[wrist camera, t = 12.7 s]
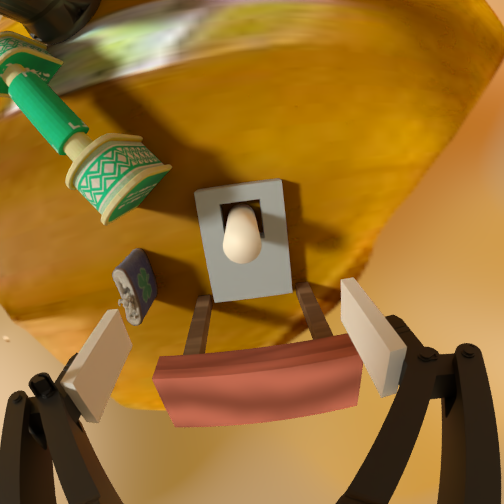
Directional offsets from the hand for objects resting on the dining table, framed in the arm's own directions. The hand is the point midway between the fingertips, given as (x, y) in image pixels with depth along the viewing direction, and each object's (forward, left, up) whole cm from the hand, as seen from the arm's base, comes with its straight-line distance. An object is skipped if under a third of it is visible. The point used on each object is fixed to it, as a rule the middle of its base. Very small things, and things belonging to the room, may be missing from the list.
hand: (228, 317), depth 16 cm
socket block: (+4, +1, -29) cm, 29 cm away
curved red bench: (+11, +1, -29) cm, 31 cm away
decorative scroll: (-20, -22, -29) cm, 42 cm away
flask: (+8, -16, -29) cm, 34 cm away
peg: (+1, +1, -29) cm, 29 cm away
